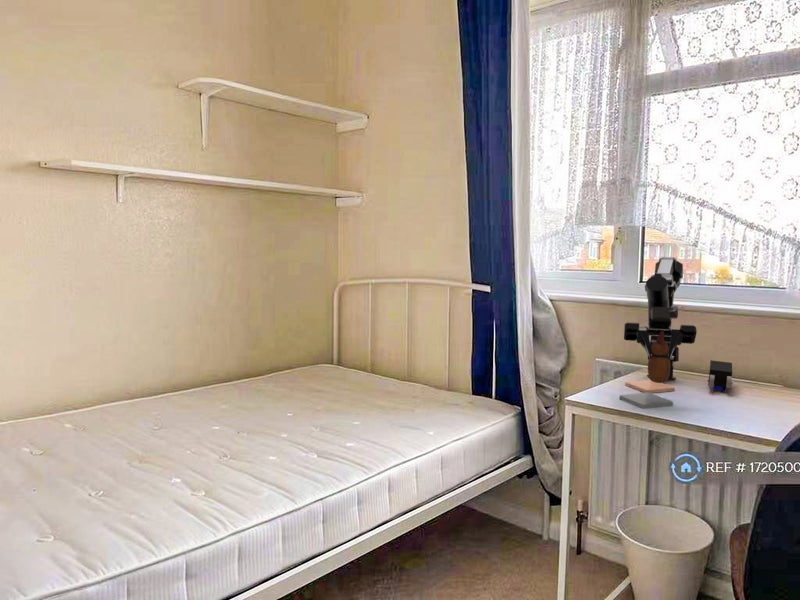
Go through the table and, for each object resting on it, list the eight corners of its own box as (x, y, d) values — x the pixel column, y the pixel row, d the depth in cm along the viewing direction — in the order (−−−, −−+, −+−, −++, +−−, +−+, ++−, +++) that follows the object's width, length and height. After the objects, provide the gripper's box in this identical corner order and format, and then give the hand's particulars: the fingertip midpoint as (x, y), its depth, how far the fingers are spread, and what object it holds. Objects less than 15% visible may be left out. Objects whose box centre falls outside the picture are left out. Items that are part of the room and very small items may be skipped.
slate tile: (619, 398, 174) (619, 395, 174) (648, 395, 177) (648, 392, 177) (642, 408, 165) (642, 404, 165) (672, 405, 168) (673, 401, 168)
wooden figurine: (669, 385, 165) (672, 331, 163) (646, 383, 167) (649, 330, 166) (669, 379, 171) (672, 327, 169) (647, 377, 174) (650, 326, 172)
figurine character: (732, 400, 177) (731, 383, 190) (734, 376, 175) (732, 359, 189) (707, 397, 180) (707, 380, 193) (708, 373, 178) (708, 357, 192)
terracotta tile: (625, 385, 189) (625, 382, 189) (651, 382, 192) (652, 379, 192) (646, 393, 180) (646, 390, 179) (674, 390, 182) (674, 387, 182)
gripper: (625, 294, 173) (625, 339, 164) (697, 296, 167) (701, 343, 158) (624, 317, 181) (623, 361, 172) (692, 320, 175) (695, 365, 166)
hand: (659, 357), depth 167 cm, fingers closed on wooden figurine, 4 cm apart
